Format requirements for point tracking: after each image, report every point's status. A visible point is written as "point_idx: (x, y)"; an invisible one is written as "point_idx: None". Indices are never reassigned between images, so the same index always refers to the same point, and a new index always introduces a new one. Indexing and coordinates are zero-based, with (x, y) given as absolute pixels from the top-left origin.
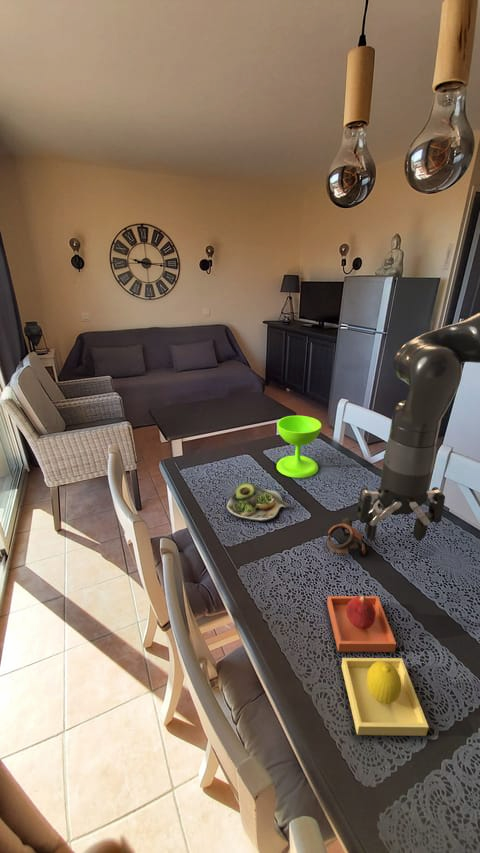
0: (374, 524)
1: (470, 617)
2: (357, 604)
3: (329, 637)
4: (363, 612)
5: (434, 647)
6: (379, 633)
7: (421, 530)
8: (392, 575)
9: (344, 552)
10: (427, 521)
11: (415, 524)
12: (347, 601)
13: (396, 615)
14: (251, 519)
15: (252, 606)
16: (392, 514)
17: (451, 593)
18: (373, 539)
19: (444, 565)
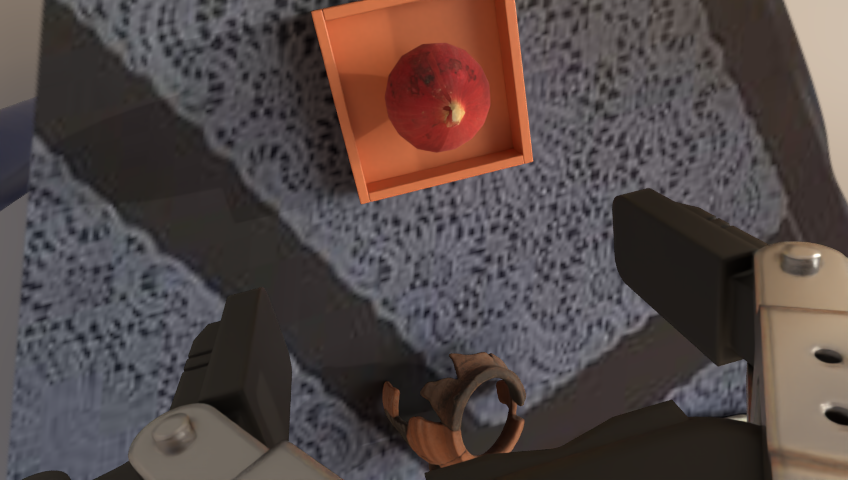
0: (782, 251)
1: (33, 216)
2: (469, 93)
3: (520, 22)
4: (445, 67)
5: (172, 61)
6: (358, 69)
7: (236, 354)
8: (295, 322)
9: (466, 357)
10: (165, 452)
11: (284, 427)
12: (462, 164)
13: (293, 162)
14: (743, 415)
15: (751, 85)
16: (674, 403)
17: (94, 300)
18: (636, 196)
19: (111, 411)
